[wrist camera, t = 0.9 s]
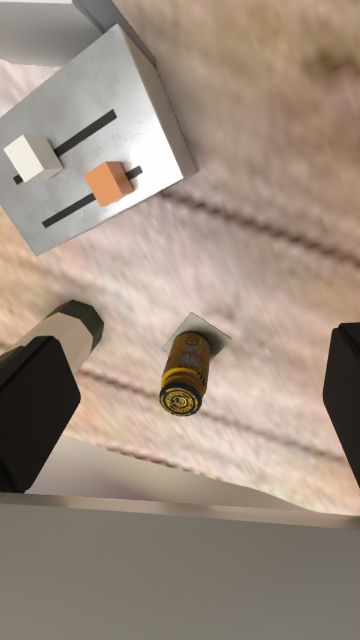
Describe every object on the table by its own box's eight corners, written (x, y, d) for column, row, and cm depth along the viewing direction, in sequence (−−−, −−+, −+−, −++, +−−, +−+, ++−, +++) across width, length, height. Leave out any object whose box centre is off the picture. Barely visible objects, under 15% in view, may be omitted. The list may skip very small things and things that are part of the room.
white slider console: (158, 72, 29) (117, 22, 19) (198, 172, 33) (182, 177, 22) (43, 152, 34) (-39, 148, 24) (89, 230, 38) (35, 256, 28)
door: (156, 42, 28) (95, -54, 15) (155, 72, 29) (98, 7, 16) (8, 35, 29) (-157, -56, 17) (13, 65, 31) (-138, -1, 18)
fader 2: (119, 161, 22) (105, 161, 20) (134, 191, 23) (122, 195, 21) (98, 173, 23) (83, 175, 21) (114, 202, 24) (100, 207, 21)
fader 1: (45, 137, 22) (23, 134, 20) (63, 168, 23) (44, 169, 21) (27, 150, 23) (3, 149, 20) (45, 180, 24) (24, 182, 21)
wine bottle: (69, 289, 43) (-174, 483, 17) (114, 322, 45) (-46, 545, 19) (47, 323, 47) (-179, 524, 21) (89, 353, 49) (-72, 572, 23)
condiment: (162, 348, 46) (142, 404, 36) (191, 311, 42) (178, 361, 31) (199, 372, 47) (190, 432, 37) (231, 338, 43) (231, 394, 33)
